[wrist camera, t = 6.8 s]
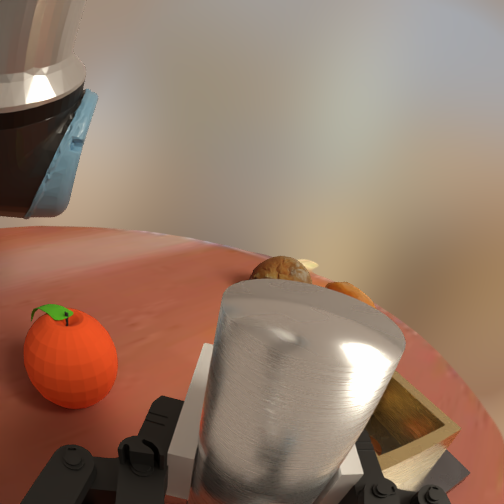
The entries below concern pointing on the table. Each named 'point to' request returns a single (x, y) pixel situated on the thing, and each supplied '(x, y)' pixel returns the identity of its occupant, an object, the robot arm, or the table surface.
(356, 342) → the silver metal tall cylinder
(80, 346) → the clementine
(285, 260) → the bread roll
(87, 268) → the table surface
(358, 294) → the fruit
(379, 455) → the gold square holder
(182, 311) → the table surface
